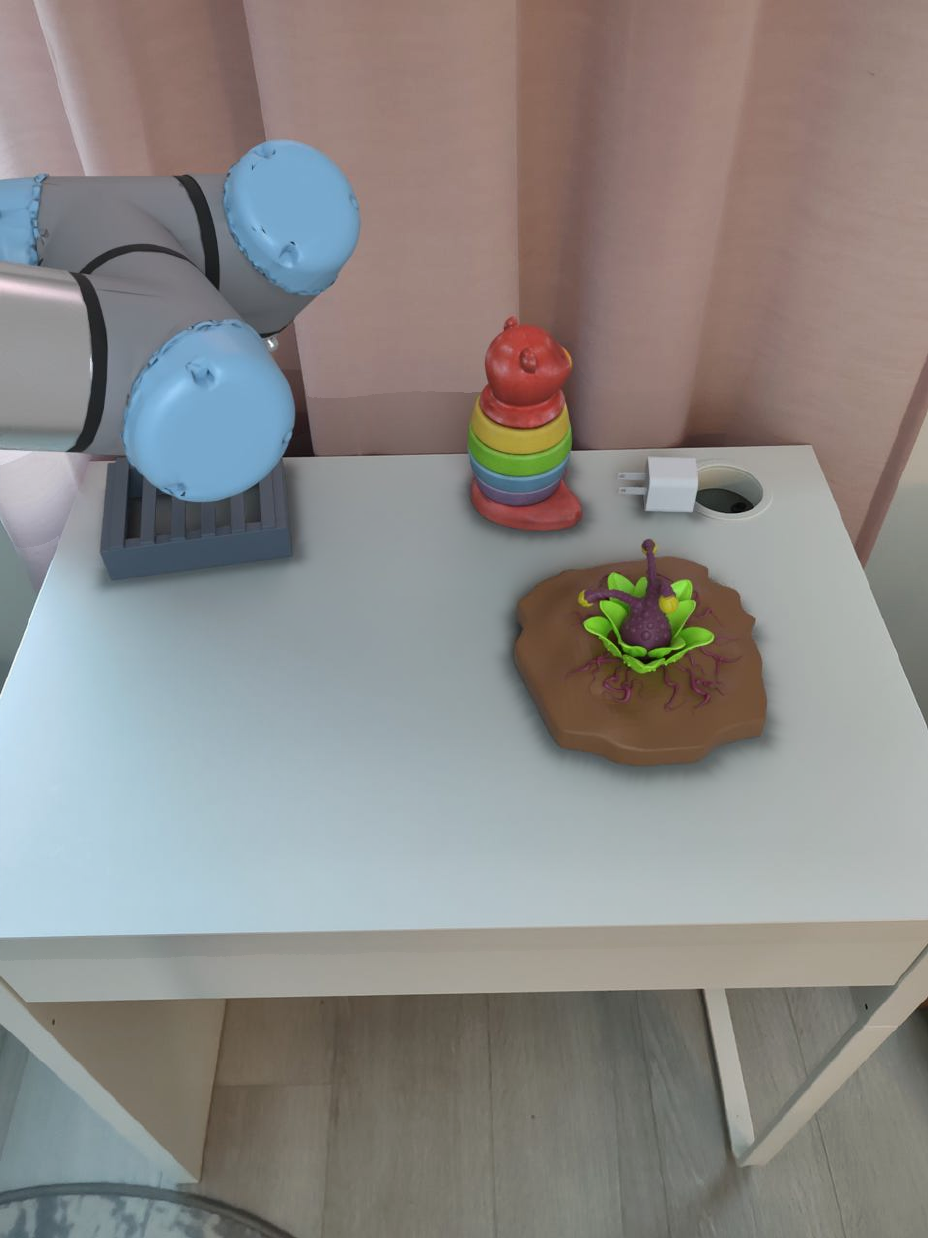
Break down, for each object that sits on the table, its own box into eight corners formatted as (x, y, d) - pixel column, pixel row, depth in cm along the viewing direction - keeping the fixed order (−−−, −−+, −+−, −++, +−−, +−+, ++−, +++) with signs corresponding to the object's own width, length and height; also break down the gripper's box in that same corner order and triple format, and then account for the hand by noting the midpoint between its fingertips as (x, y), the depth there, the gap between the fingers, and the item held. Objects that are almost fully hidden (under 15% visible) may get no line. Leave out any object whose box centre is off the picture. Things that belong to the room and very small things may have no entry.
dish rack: (111, 580, 88) (98, 548, 85) (118, 491, 96) (106, 459, 93) (292, 556, 90) (285, 523, 87) (284, 470, 98) (278, 438, 95)
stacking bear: (586, 528, 92) (604, 363, 78) (478, 541, 91) (477, 376, 77) (561, 453, 99) (573, 290, 85) (460, 464, 98) (456, 302, 84)
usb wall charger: (691, 515, 92) (698, 482, 89) (616, 513, 93) (621, 480, 90) (688, 487, 95) (694, 454, 92) (615, 485, 95) (619, 452, 92)
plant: (543, 786, 74) (551, 695, 65) (496, 594, 86) (498, 497, 78) (802, 748, 75) (842, 655, 67) (719, 566, 88) (744, 468, 80)
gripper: (112, 432, 61) (62, 503, 81) (379, 291, 72) (277, 384, 91) (39, 323, 60) (6, 422, 79) (322, 195, 70) (231, 311, 90)
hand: (151, 402), depth 85 cm, fingers closed on plastic cup, 9 cm apart
